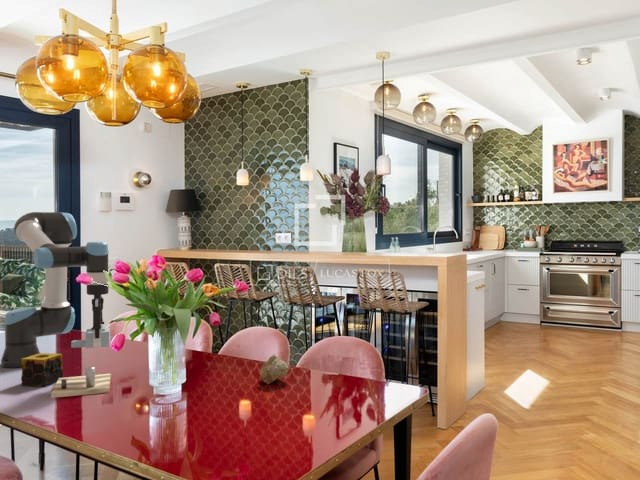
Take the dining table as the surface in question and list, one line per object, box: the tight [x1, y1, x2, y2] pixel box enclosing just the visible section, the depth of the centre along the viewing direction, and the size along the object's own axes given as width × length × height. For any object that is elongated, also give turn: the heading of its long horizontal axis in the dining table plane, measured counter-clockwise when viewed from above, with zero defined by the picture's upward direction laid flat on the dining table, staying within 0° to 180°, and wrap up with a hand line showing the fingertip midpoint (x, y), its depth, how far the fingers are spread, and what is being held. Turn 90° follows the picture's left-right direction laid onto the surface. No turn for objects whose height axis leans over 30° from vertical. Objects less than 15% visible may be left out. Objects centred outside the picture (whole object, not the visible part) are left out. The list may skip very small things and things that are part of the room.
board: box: [50, 373, 112, 399], centre depth 193 cm, size 20×18×2 cm
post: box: [85, 366, 96, 388], centre depth 188 cm, size 3×3×6 cm
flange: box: [70, 327, 111, 349], centre depth 199 cm, size 13×8×6 cm, turn 109°
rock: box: [259, 353, 291, 385], centre depth 197 cm, size 12×10×10 cm
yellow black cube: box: [20, 352, 64, 388], centre depth 199 cm, size 10×10×10 cm
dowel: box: [61, 379, 67, 389], centre depth 185 cm, size 2×2×3 cm
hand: (98, 344), depth 200 cm, fingers closed on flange, 8 cm apart
